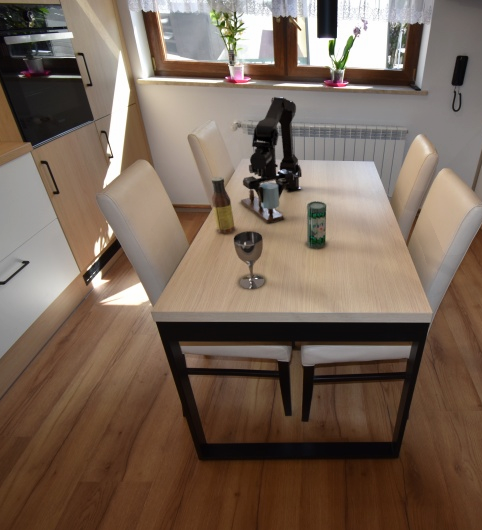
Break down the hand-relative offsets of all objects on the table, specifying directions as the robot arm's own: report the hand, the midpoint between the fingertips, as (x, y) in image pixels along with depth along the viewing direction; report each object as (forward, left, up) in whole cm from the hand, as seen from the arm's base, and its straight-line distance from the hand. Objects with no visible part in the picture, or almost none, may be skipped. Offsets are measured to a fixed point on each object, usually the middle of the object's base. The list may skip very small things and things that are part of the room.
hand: (270, 200), depth 149 cm
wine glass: (+26, +35, -8) cm, 44 cm away
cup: (0, 0, -2) cm, 2 cm away
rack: (0, -8, -7) cm, 11 cm away
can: (-3, +27, -8) cm, 28 cm away
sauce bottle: (+19, 0, -8) cm, 21 cm away
